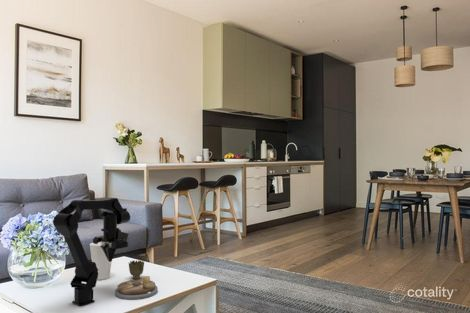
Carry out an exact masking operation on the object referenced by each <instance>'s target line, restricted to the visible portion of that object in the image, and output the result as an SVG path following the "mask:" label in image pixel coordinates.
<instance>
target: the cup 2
mask: <svg viewBox="0 0 470 313" xmlns="http://www.w3.org/2000/svg"><path fill="white" fill-rule="evenodd" d="M144 267H145V261H143V260H132V261H131V260H130V261H129V262H128V268H129V273H130V275H131V276H132V280H140V278H141V276H142V274H143V272H144V269H145V268H144Z"/></svg>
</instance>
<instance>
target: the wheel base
mask: <svg viewBox="0 0 470 313" xmlns="http://www.w3.org/2000/svg"><path fill="white" fill-rule="evenodd" d="M157 294H158V286H157V285H156V284H155V289H154V290H152V291H150V292H148V293H144V294H136V295H127V294H122V293H119V292H118V291H117V288H116V289H114V296H115V297H116V298H118V299H121V300H126V301H133V300H134V301H135V300H137V301H138V300H144V299H148V298H151V297H153V296H156V295H157Z"/></svg>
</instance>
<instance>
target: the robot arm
mask: <svg viewBox="0 0 470 313" xmlns="http://www.w3.org/2000/svg"><path fill="white" fill-rule="evenodd" d="M84 210H101V211H102V213H100V215H99V217H100V218H103V223H102V224H103V227H102V228H100V229H101V230H100V231H101V232H102V233H103V235H99V236H94V238H93V239H92V243H94V244H97V243H98V242H102V245H101V246H100V247H101V248H102V250H103V251H104V253H105V255H106V257H107V259H108V261H109V262H111V261H113V258H114V256H115V253H116V251H117V250H119V249H123V248H128V247H129V241H128V238H129V233H128V232H127V233H126V232H124V231H122V230H121V229H120V228H119V227H118V225H121V224H122V225H123V224H127V223H129V222H130V220H131V215H130V212H129V211H128V210H127V207H125V208H124V207H123V206H122V205H121V203H120V201H119V199H118V198H117V197H102V198H99V199H97V200H96V199H93V200H91V199H90V200H88V199H86V200H85V199H83V200H82V199H81V200H80V199H74V200H72V201H70V203H69V204H68V205H66V206H65V207H63V208H62V209H61V210H60V211H59V212H58V213H57V214H56V215H55V216H54V218H53V220H52V224H53V227H54V228H55V229H56V231H57V233H59V234H61V235H62V237H64V239H65V243H66V244H67V247H68V250H69V252H70V254H71V257H72V259H73V261H74V264H75V269H74V276H73V278H72V279H71V281H70V284H69V285H70V286H71V288H73V290H74V292H73V293H74V295H73V296H74V298H73V301H72V302H71V303H72V304H74V305H76V306H77V305H78V306H79V307H83V306H86V305H88V304H92V303H94V302H96V301H95V299H94V288H96V286H97V283H98V282H97V281H98V280H97V278H98V269H97V267H96V263H95V262H92V261H90V260H89V259H88V257H87V254H86V251H85V249H84V247H83V243H82V241H81V239H80V237H79V234H78V230H79V229H78V228H79V222H80V221H79V220H80V219H81V218H82V214H83V212H84ZM73 212H74V213H73ZM111 263H112V262H111Z"/></svg>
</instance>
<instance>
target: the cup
mask: <svg viewBox="0 0 470 313" xmlns="http://www.w3.org/2000/svg"><path fill="white" fill-rule="evenodd" d="M101 245H102V242H98V243H97V244H94V243H93V242H91V243H89V249H90V257H91V262H95V263H96V267H97V269H98V278H97V281H100V280H101V281H102V280H107V279H109V278H110V276H111V267H112V261H113V260H112V261H111V262H109V261H108V259H107V257H106V255H105V253H104V251H103V250H102V248H101V247H100V246H101Z"/></svg>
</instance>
